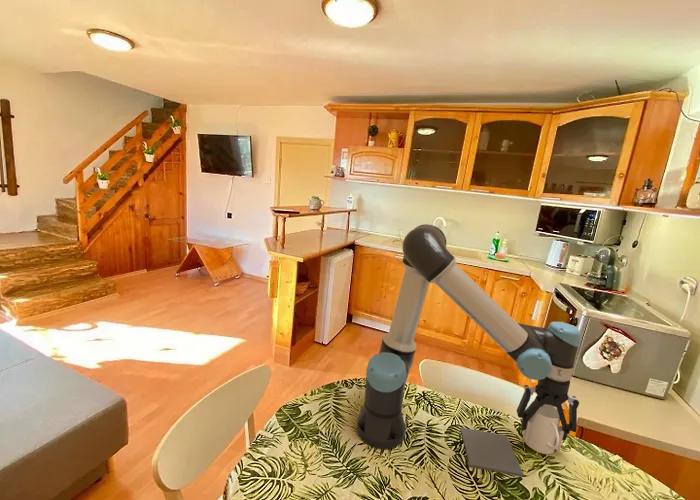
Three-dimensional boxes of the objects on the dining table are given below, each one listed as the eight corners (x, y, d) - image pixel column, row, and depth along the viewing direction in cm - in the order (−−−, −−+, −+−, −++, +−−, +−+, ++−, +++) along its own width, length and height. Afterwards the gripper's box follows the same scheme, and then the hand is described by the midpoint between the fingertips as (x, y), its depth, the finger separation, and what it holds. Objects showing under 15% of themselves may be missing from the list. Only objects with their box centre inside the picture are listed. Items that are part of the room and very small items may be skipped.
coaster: (469, 466, 86) (470, 464, 86) (460, 429, 100) (460, 427, 100) (523, 477, 84) (523, 474, 84) (506, 437, 98) (506, 435, 97)
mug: (566, 466, 89) (575, 429, 86) (535, 461, 89) (542, 425, 87) (545, 434, 100) (552, 401, 98) (518, 430, 101) (524, 398, 99)
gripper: (517, 372, 90) (504, 440, 94) (603, 392, 83) (585, 464, 88) (513, 360, 97) (501, 424, 101) (592, 377, 90) (576, 444, 94)
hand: (540, 442), depth 94 cm, fingers closed on mug, 8 cm apart
